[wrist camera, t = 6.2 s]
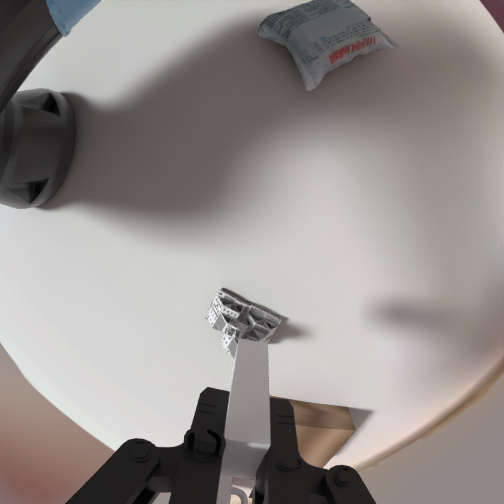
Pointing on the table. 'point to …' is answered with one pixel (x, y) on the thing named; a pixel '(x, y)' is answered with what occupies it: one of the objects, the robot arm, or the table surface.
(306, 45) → the packaged food
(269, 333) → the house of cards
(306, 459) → the brown boxy piece
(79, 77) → the table surface
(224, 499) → the mug
